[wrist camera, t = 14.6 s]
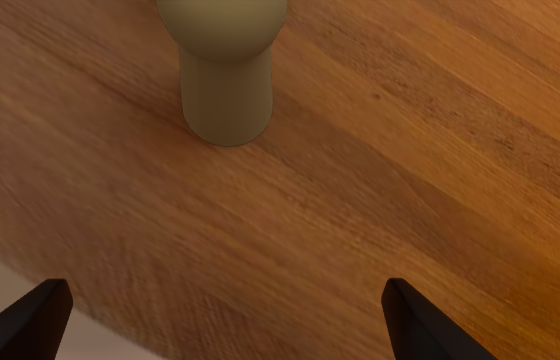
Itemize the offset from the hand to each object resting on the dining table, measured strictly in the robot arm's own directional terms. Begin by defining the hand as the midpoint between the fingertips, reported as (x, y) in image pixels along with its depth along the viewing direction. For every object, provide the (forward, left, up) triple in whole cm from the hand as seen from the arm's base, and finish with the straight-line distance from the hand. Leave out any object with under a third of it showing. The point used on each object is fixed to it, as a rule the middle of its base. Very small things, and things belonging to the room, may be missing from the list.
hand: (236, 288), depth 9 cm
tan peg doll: (+6, +9, -11) cm, 15 cm away
